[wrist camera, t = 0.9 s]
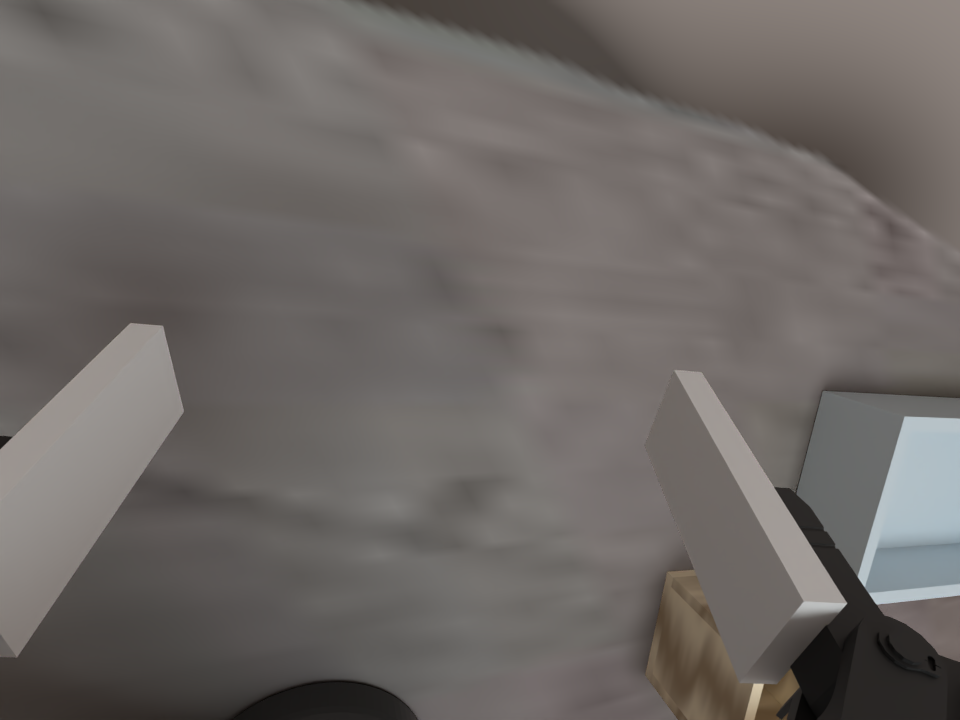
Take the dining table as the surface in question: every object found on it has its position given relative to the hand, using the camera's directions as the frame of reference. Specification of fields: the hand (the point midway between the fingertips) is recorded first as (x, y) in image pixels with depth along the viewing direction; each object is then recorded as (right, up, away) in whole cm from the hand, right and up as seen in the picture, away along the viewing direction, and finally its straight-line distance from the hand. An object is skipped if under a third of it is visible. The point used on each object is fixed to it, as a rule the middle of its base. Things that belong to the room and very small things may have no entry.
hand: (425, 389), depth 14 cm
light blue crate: (+37, -9, +31) cm, 49 cm away
